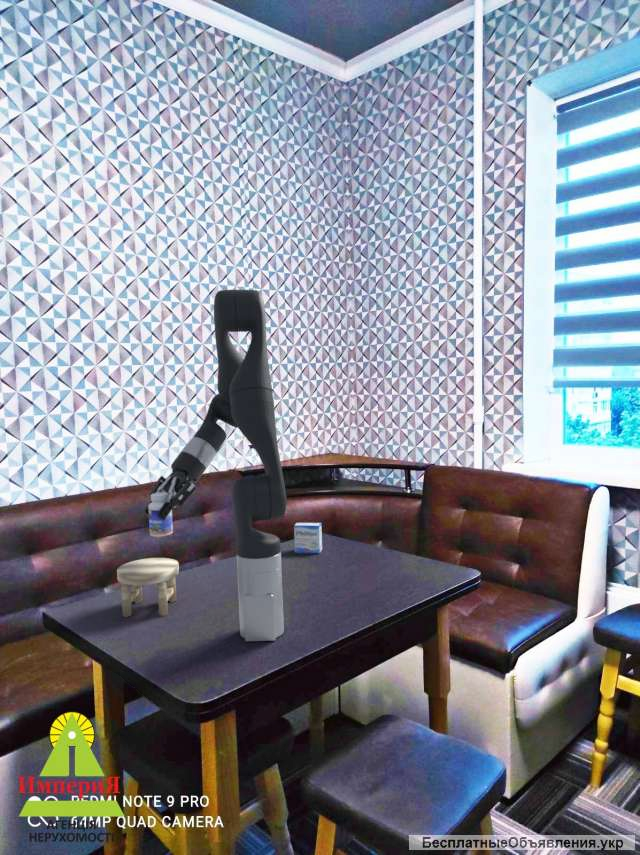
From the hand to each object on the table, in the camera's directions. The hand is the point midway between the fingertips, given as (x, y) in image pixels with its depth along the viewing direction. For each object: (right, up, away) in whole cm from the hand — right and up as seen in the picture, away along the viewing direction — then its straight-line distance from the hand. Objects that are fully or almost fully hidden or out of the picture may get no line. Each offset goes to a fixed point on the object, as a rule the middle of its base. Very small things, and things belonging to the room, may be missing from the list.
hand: (153, 515), depth 142 cm
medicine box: (+36, -17, +43) cm, 59 cm away
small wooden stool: (-1, -22, +1) cm, 22 cm away
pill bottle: (+2, -5, +2) cm, 5 cm away
